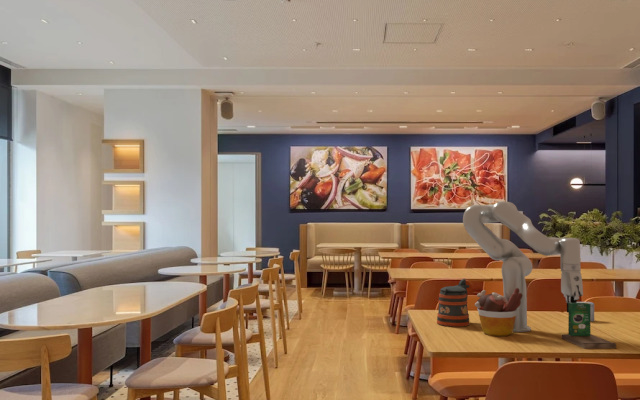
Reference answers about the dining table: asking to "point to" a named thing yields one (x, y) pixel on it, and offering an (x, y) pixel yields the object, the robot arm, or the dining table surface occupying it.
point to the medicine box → (590, 310)
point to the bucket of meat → (498, 312)
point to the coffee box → (579, 319)
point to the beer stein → (453, 306)
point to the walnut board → (589, 341)
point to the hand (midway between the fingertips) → (571, 312)
